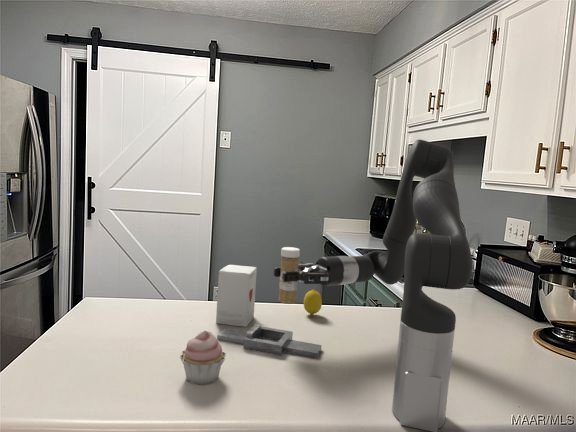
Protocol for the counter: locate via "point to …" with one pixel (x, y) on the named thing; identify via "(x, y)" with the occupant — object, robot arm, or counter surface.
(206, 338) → the cupcake
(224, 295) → the supplement box
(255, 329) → the grey frame base plate
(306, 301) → the lemon
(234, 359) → the counter surface
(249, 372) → the counter surface
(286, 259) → the sprinkles bottle
